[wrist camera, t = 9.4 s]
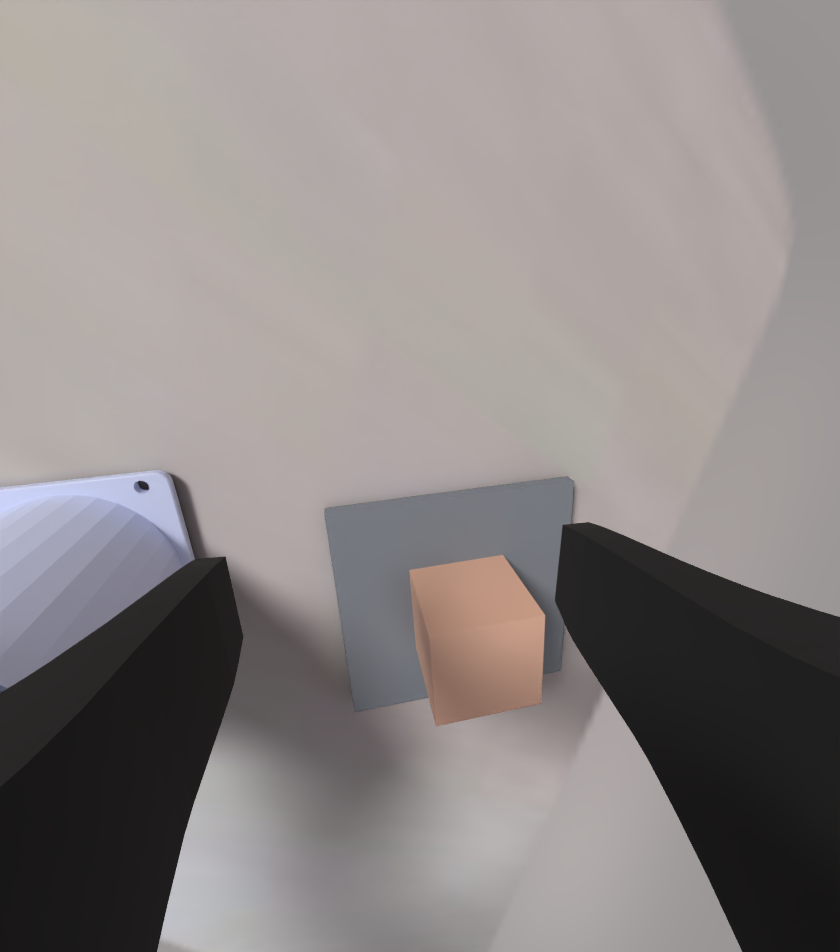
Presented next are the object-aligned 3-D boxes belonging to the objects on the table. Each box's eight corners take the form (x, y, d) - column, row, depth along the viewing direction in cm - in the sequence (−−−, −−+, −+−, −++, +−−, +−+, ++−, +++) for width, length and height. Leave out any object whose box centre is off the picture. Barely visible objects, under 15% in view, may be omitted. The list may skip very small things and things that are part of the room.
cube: (416, 647, 21) (435, 726, 17) (409, 569, 20) (429, 636, 16) (502, 630, 22) (541, 703, 18) (502, 554, 21) (545, 615, 16)
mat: (354, 702, 23) (354, 712, 22) (324, 508, 19) (324, 514, 18) (555, 662, 24) (560, 670, 24) (567, 476, 20) (574, 481, 20)
